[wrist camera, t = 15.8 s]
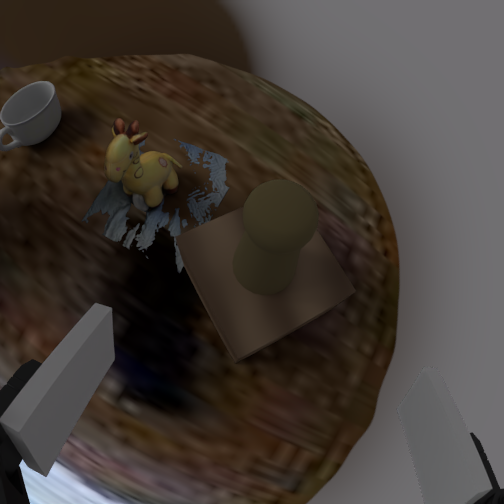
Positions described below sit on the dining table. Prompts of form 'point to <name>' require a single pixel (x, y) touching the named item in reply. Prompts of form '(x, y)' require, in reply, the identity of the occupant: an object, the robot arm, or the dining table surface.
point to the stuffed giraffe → (149, 187)
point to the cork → (274, 235)
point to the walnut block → (250, 304)
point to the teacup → (30, 115)
